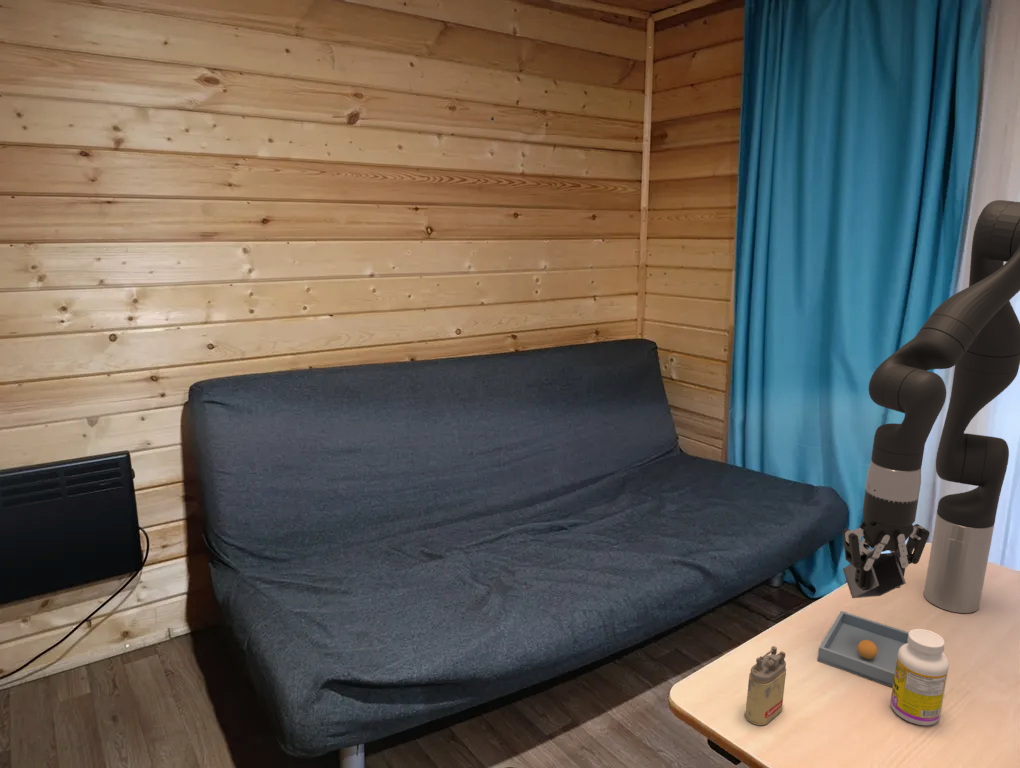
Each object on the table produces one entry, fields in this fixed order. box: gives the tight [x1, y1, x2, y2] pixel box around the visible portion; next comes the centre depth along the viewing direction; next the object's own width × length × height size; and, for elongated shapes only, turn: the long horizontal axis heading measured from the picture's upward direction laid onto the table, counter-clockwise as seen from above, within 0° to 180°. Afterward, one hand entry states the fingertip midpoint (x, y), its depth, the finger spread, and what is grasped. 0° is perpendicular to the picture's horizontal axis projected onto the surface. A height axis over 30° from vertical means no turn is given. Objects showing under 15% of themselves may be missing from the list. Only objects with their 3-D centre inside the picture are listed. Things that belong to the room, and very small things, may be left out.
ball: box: [858, 640, 878, 659], centre depth 123 cm, size 3×3×3 cm
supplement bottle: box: [890, 628, 950, 726], centre depth 110 cm, size 7×7×13 cm
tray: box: [817, 610, 909, 688], centre depth 125 cm, size 14×12×2 cm
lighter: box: [744, 645, 787, 726], centre depth 110 cm, size 7×4×10 cm, turn 130°
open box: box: [842, 552, 907, 599], centre depth 122 cm, size 5×5×8 cm
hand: (878, 586), depth 121 cm, fingers closed on open box, 5 cm apart
